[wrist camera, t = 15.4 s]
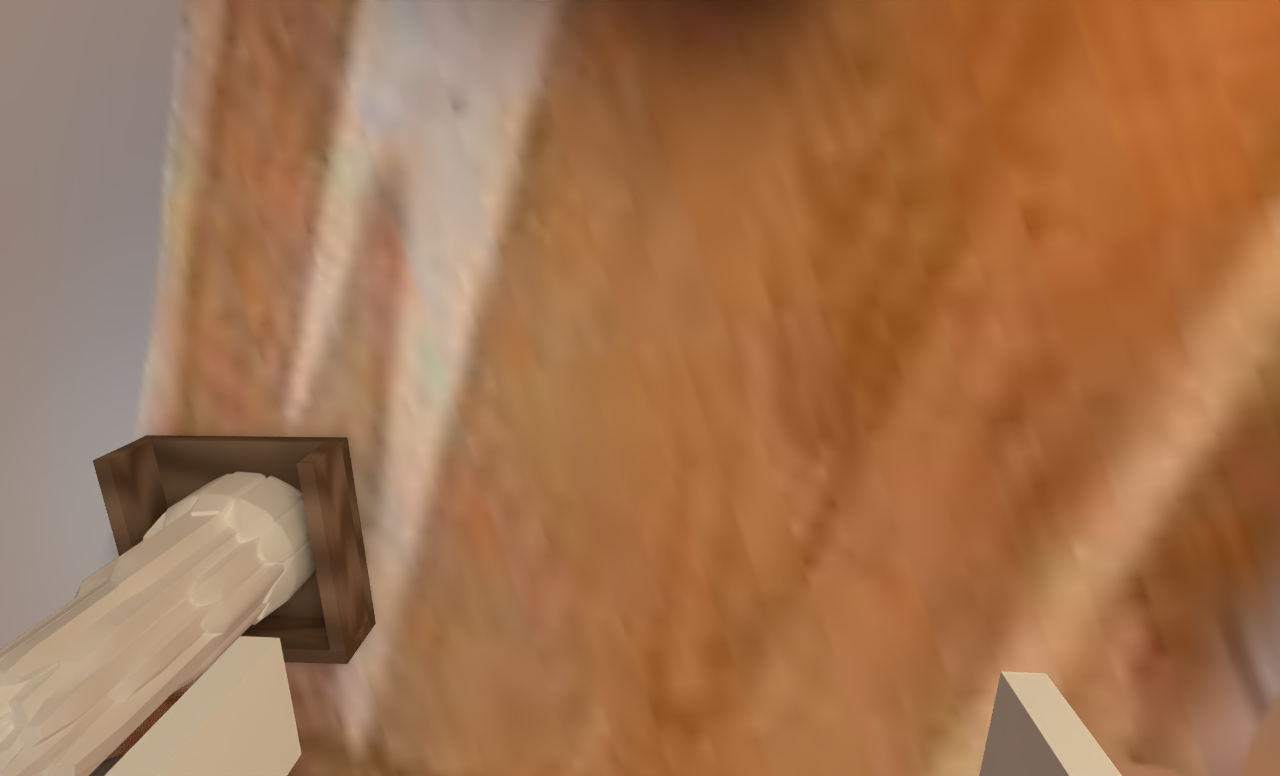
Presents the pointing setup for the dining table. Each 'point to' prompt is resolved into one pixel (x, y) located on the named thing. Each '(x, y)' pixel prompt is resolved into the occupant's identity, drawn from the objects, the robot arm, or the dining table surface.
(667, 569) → the dining table surface
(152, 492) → the brown wooden tray
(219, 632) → the decorative vase
